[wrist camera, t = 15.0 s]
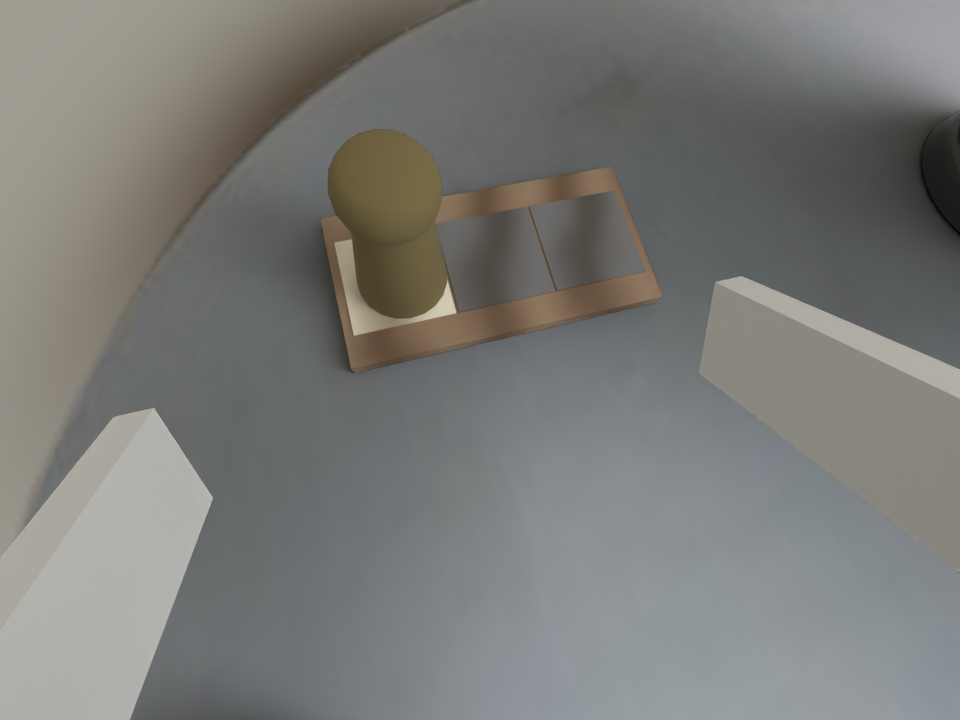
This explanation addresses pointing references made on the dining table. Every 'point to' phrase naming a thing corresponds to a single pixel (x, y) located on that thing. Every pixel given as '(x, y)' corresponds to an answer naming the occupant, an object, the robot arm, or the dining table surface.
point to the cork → (391, 220)
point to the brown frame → (506, 268)
